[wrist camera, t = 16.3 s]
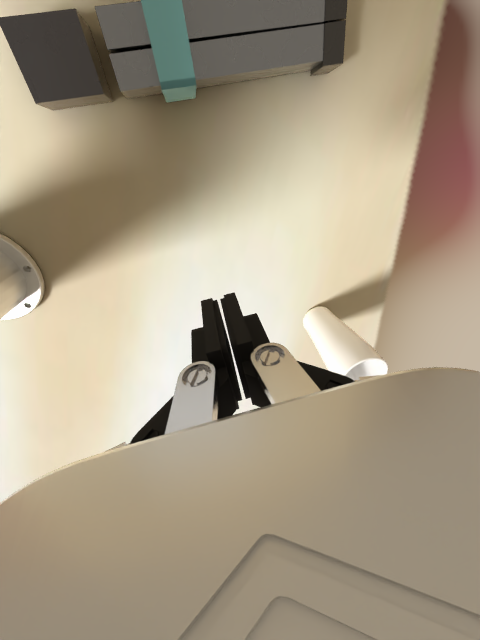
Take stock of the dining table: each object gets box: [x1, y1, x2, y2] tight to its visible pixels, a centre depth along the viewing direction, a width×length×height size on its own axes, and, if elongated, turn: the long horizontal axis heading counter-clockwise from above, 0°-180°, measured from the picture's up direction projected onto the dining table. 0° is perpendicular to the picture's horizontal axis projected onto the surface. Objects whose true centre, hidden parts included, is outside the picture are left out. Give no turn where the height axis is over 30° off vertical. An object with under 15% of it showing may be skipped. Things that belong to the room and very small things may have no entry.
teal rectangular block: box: [141, 0, 196, 102], centre depth 21 cm, size 3×7×5 cm, turn 7°
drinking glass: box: [303, 306, 388, 380], centre depth 38 cm, size 7×7×15 cm
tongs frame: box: [0, 0, 347, 110], centre depth 23 cm, size 29×6×3 cm, turn 97°
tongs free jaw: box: [109, 20, 346, 99], centre depth 24 cm, size 22×3×3 cm, turn 98°
